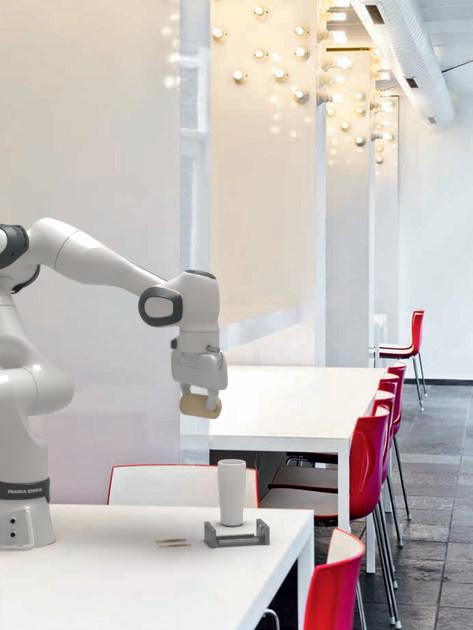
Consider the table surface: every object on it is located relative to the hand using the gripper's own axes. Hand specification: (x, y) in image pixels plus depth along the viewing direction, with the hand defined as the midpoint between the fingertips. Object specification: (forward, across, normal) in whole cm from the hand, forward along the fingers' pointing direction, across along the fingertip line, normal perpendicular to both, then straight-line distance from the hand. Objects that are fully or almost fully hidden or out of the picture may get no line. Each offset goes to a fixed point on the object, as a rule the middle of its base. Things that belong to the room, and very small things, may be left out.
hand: (198, 406), depth 245 cm
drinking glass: (+31, +11, -15) cm, 36 cm away
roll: (0, 0, 0) cm, 0 cm away
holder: (+31, -5, -7) cm, 32 cm away
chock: (+31, +1, +6) cm, 31 cm away
